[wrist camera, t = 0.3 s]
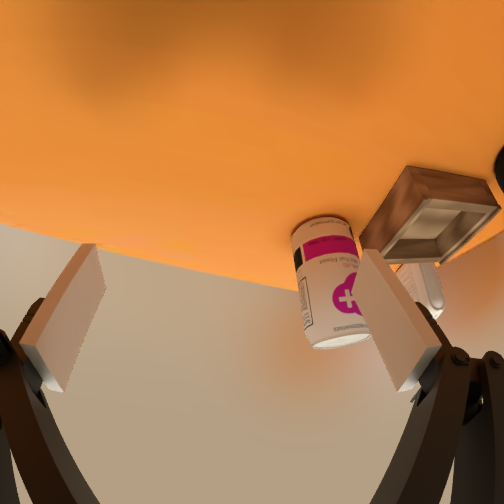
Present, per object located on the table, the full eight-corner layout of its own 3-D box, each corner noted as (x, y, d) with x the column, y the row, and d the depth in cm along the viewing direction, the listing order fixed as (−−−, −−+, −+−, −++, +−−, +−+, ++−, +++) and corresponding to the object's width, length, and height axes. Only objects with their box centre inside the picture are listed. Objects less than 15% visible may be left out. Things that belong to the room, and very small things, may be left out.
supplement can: (318, 206, 35) (345, 331, 28) (361, 224, 39) (388, 332, 32) (278, 239, 41) (292, 350, 34) (321, 251, 45) (339, 350, 38)
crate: (407, 164, 29) (424, 199, 27) (486, 179, 31) (501, 209, 29) (358, 238, 42) (366, 268, 40) (433, 238, 44) (442, 264, 42)
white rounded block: (409, 272, 56) (424, 329, 50) (392, 274, 56) (406, 333, 50) (432, 246, 47) (452, 312, 41) (413, 248, 47) (433, 316, 41)
